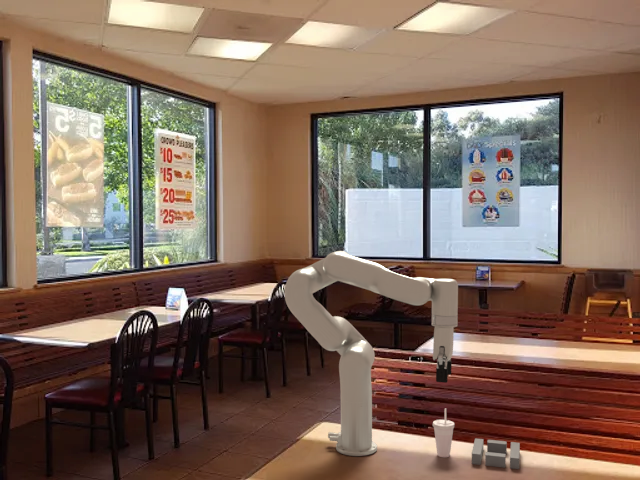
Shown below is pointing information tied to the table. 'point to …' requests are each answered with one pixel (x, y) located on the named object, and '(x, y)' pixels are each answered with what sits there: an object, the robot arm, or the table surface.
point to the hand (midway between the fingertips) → (443, 378)
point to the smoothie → (443, 436)
